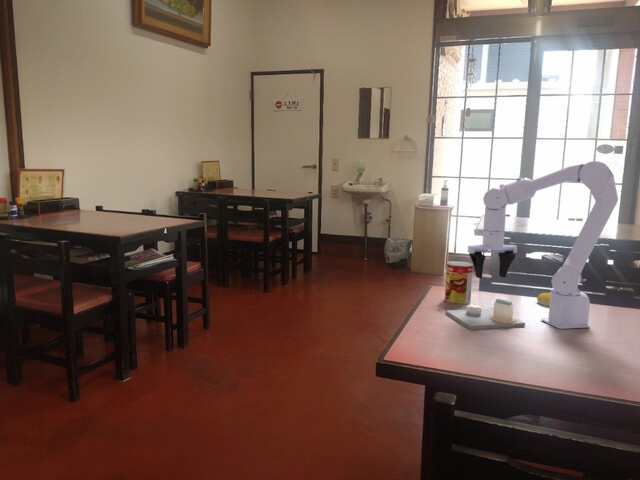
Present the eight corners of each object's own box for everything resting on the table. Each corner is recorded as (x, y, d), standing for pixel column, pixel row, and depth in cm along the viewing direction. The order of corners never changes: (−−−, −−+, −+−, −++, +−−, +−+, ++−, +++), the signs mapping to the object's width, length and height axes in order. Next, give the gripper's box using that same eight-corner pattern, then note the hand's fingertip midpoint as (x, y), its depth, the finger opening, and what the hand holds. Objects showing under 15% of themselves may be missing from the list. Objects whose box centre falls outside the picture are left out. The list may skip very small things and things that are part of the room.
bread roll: (531, 302, 157) (532, 290, 157) (554, 300, 160) (555, 288, 159) (550, 309, 149) (551, 296, 149) (574, 307, 152) (575, 294, 152)
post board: (495, 311, 146) (496, 301, 145) (524, 326, 132) (525, 315, 132) (445, 313, 142) (446, 303, 142) (470, 329, 129) (471, 318, 128)
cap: (515, 318, 135) (517, 301, 134) (506, 321, 132) (508, 304, 131) (498, 314, 138) (499, 297, 138) (489, 317, 135) (490, 300, 134)
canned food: (446, 296, 162) (448, 260, 160) (471, 298, 159) (473, 262, 158) (443, 302, 155) (445, 264, 153) (469, 304, 152) (472, 266, 150)
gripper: (508, 228, 147) (505, 273, 149) (463, 229, 144) (461, 274, 146) (522, 231, 140) (519, 278, 142) (476, 232, 137) (473, 280, 139)
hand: (490, 277), depth 144 cm, fingers open, 7 cm apart
